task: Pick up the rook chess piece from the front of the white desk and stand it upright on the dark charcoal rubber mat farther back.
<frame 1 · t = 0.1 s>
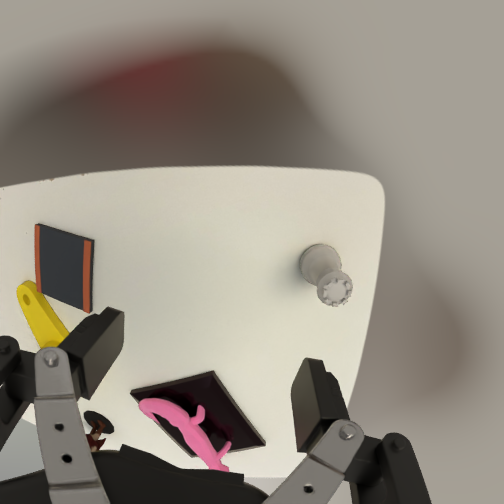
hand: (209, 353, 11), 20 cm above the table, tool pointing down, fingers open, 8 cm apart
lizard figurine: (202, 422, 39), on the table
mat: (63, 267, 32), on the table
figurine: (100, 422, 41), on the table
crank: (53, 331, 35), on the table
rook chess piece: (319, 262, 31), on the table
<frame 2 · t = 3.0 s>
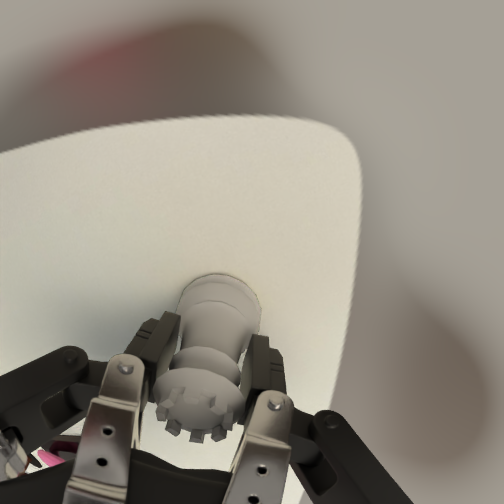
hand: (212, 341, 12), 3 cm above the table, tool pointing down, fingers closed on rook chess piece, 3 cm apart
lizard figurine: (118, 480, 24), on the table
figurine: (28, 455, 26), on the table
rook chess piece: (220, 307, 16), on the table, touching gripper
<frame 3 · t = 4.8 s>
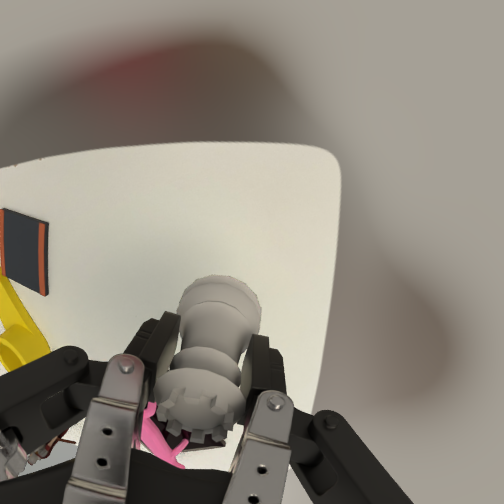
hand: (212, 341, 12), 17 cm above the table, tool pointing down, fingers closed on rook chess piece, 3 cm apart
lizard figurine: (158, 416, 36), on the table
mat: (23, 250, 29), on the table
figurine: (65, 412, 38), on the table
crank: (18, 316, 33), on the table
rook chess piece: (221, 307, 16), point 13 cm above the table, touching gripper
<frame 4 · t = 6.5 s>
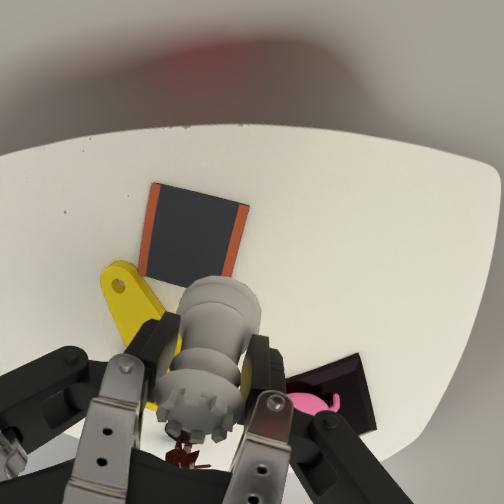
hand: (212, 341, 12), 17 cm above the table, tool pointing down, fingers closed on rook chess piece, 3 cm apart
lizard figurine: (322, 413, 36), on the table
mat: (190, 240, 29), on the table
figurine: (186, 432, 39), on the table
crank: (150, 327, 33), on the table
rook chess piece: (220, 308, 16), point 14 cm above the table, touching gripper
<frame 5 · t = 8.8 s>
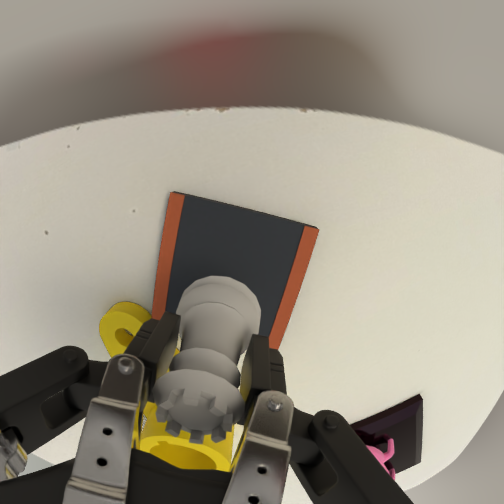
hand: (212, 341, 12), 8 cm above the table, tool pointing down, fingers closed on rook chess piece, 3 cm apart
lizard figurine: (369, 455, 28), on the table
mat: (228, 276, 20), on the table
crank: (169, 382, 24), on the table
rook chess piece: (220, 308, 16), point 5 cm above the table, touching gripper
when the fingers open (4 cm above the table, at t = 10.2 s): rook chess piece stays where it is, resting on mat.
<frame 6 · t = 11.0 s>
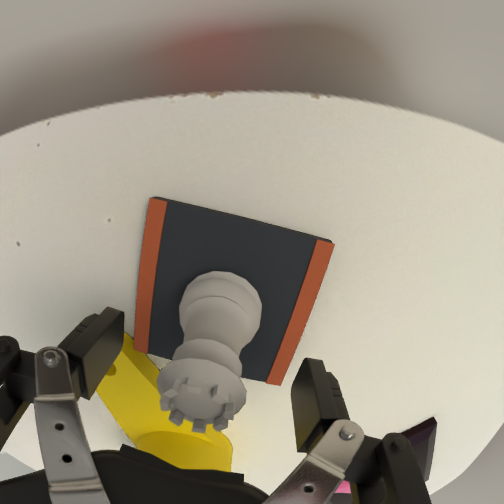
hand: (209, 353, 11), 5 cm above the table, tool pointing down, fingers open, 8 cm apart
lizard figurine: (376, 477, 24), on the table
mat: (222, 299, 17), on the table
crank: (159, 411, 20), on the table
rook chess piece: (222, 303, 16), point 1 cm above the table, touching mat
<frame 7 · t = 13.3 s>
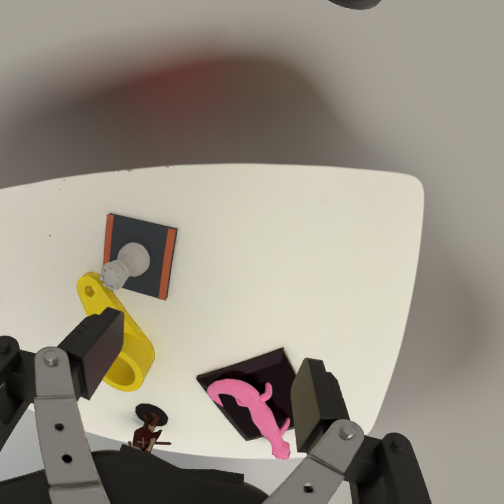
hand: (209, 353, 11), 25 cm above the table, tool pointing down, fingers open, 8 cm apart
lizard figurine: (263, 401, 44), on the table
mat: (137, 256, 37), on the table
figurine: (152, 415, 46), on the table
crank: (115, 323, 40), on the table
rook chess piece: (136, 257, 36), point 1 cm above the table, touching mat
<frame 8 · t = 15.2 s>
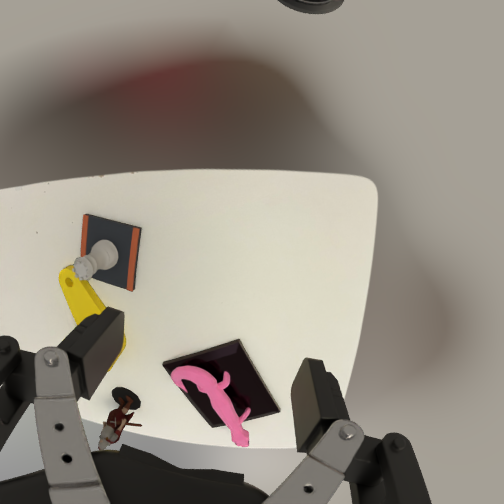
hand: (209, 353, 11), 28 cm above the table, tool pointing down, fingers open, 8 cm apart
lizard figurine: (225, 390, 47), on the table
mat: (109, 251, 40), on the table
figurine: (127, 398, 49), on the table
crank: (92, 311, 43), on the table
rook chess piece: (107, 252, 39), point 1 cm above the table, touching mat
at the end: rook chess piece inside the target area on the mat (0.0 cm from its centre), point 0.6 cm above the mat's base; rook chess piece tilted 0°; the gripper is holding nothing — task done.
